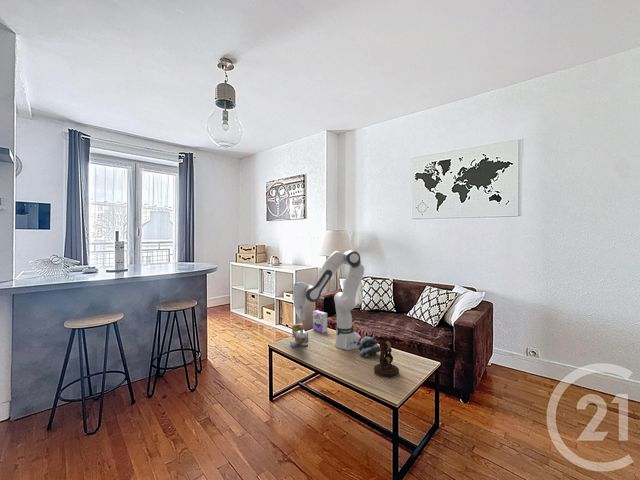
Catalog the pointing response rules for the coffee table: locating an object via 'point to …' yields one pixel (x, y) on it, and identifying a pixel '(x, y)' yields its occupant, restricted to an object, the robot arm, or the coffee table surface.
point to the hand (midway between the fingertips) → (300, 322)
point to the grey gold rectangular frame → (298, 342)
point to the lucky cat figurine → (368, 346)
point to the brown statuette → (386, 360)
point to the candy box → (320, 321)
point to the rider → (301, 334)
